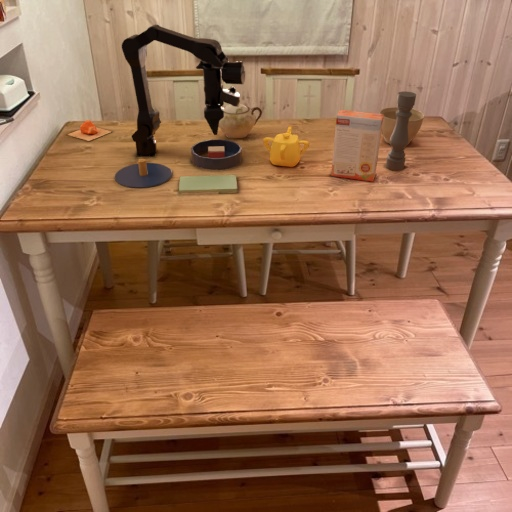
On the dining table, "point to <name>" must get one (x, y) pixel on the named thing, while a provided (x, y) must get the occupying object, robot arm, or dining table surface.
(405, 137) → the candle holder
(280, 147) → the teapot
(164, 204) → the dining table surface
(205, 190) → the board
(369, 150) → the cracker box
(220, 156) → the meat
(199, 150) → the pot
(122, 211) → the dining table surface
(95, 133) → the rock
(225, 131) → the sugar bowl
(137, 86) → the robot arm
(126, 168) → the lid
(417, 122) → the planter bowl
